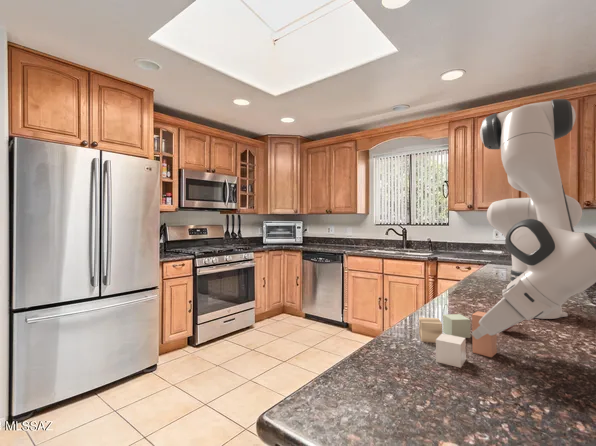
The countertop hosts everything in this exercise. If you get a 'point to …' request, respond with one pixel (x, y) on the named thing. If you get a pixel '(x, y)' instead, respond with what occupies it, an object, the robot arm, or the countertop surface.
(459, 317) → the sage block
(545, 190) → the robot arm
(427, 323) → the maple block
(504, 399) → the countertop surface
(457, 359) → the ceramic block
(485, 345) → the terracotta post
